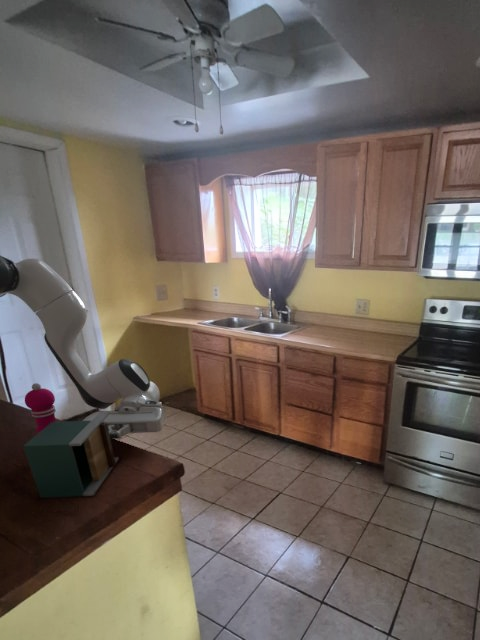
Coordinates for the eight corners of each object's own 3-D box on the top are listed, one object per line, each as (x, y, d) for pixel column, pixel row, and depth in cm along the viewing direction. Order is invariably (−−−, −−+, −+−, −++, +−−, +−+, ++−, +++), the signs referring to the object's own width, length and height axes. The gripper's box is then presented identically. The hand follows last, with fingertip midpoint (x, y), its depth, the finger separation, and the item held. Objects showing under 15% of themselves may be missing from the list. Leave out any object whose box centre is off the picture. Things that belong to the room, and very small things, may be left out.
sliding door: (92, 480, 84) (81, 437, 80) (105, 463, 91) (95, 422, 86) (104, 480, 85) (93, 436, 80) (115, 463, 91) (106, 422, 86)
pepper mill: (68, 445, 100) (48, 376, 92) (76, 455, 96) (56, 383, 88) (36, 455, 96) (13, 383, 88) (43, 466, 91) (20, 391, 83)
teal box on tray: (40, 497, 80) (22, 445, 75) (73, 460, 94) (61, 413, 89) (93, 495, 81) (79, 443, 76) (119, 458, 95) (108, 412, 89)
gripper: (92, 403, 103) (67, 426, 91) (166, 401, 105) (152, 424, 92) (97, 423, 106) (73, 448, 93) (169, 421, 107) (156, 446, 95)
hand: (113, 436), depth 93 cm, fingers closed
